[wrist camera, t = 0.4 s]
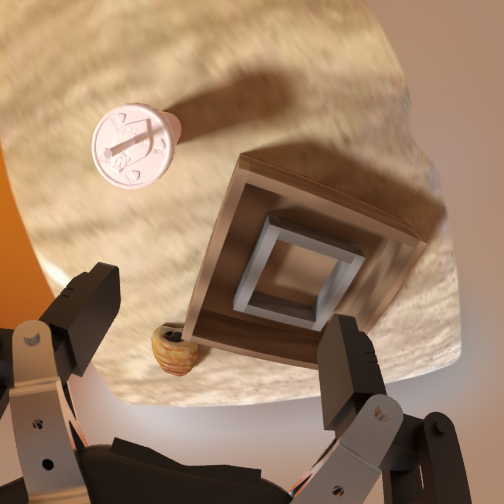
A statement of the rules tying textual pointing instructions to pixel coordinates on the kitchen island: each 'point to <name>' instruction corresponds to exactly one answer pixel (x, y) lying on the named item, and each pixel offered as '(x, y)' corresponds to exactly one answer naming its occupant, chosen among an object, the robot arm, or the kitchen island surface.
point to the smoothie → (135, 144)
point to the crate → (294, 265)
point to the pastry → (174, 350)
